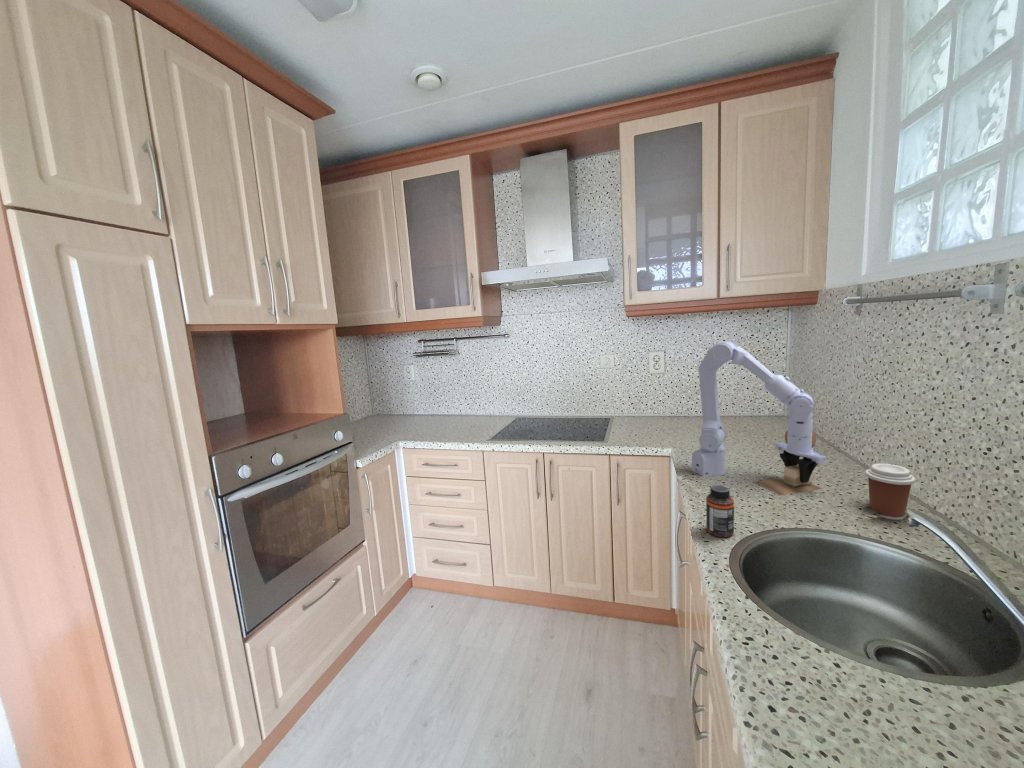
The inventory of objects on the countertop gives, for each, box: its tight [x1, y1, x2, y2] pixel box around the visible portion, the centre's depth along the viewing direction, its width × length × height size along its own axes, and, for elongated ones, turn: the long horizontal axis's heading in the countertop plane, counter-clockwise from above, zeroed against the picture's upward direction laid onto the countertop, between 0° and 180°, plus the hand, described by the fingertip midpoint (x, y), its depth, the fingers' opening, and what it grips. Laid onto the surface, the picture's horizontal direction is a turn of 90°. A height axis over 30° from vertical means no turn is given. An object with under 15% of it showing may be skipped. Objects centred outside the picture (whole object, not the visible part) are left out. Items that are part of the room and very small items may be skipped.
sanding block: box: [783, 465, 814, 487], centre depth 116 cm, size 6×4×5 cm, turn 100°
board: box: [752, 476, 823, 496], centre depth 116 cm, size 14×10×1 cm
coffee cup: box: [864, 463, 917, 521], centre depth 98 cm, size 9×9×12 cm
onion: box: [784, 429, 817, 449], centre depth 147 cm, size 10×9×10 cm
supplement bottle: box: [705, 484, 735, 539], centre depth 95 cm, size 6×6×11 cm
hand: (798, 479), depth 116 cm, fingers closed on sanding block, 4 cm apart
